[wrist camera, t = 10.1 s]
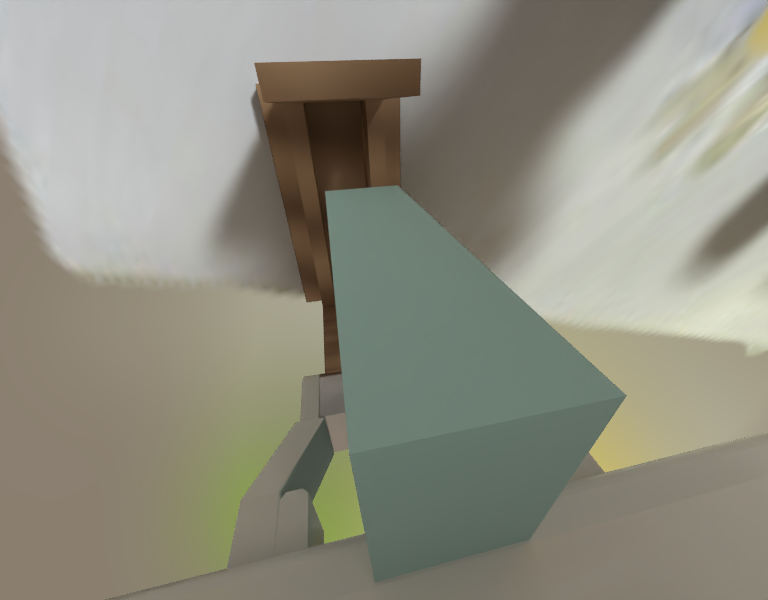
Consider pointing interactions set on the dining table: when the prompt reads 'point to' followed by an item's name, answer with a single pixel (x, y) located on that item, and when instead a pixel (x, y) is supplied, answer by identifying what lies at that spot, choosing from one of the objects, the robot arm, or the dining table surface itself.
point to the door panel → (449, 389)
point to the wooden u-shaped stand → (331, 151)
